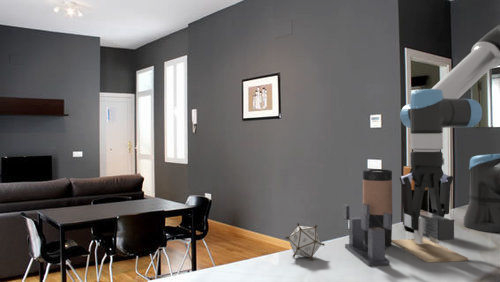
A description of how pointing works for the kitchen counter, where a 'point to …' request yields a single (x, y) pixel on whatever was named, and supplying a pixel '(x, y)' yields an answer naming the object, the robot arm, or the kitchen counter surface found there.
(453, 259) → the board
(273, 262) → the kitchen counter surface
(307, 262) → the kitchen counter surface
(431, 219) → the rail
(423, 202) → the battery
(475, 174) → the robot arm
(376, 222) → the travel mug
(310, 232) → the game die
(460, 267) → the kitchen counter surface
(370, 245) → the stand
